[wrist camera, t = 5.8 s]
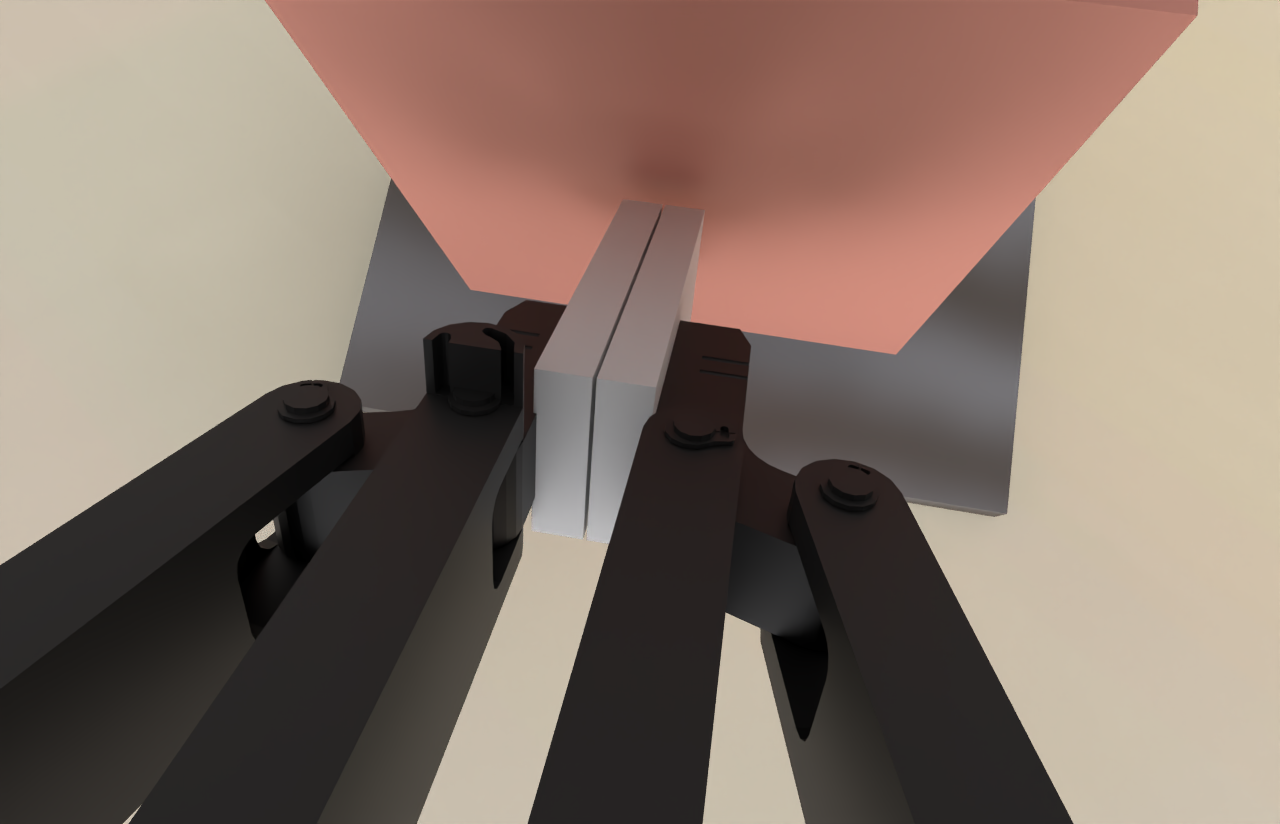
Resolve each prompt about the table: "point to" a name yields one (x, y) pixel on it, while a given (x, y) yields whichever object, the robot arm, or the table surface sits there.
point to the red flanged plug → (734, 135)
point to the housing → (770, 370)
